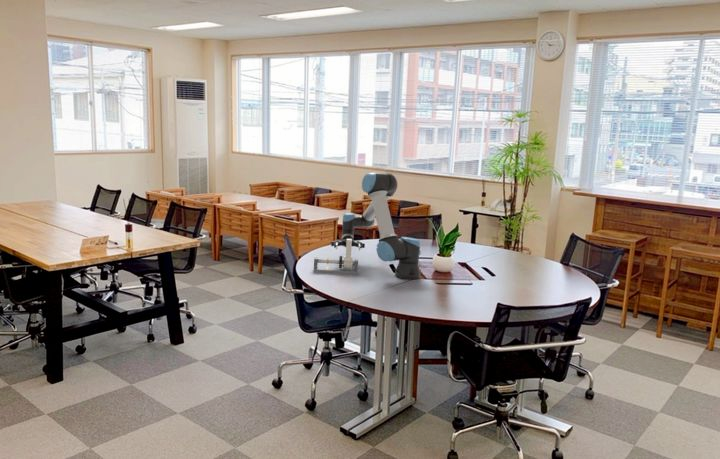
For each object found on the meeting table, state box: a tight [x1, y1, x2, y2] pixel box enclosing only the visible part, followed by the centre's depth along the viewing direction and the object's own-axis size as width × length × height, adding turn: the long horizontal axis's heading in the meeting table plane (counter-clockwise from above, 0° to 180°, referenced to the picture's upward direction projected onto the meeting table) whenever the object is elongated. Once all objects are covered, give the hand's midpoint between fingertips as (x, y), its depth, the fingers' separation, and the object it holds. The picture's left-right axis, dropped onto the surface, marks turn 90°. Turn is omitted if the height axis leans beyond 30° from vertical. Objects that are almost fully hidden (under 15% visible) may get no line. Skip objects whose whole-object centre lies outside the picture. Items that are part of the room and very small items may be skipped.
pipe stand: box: [312, 257, 359, 276], centre depth 348 cm, size 26×10×8 cm, turn 92°
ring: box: [338, 255, 343, 268], centre depth 348 cm, size 2×7×7 cm, turn 2°
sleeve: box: [342, 239, 353, 269], centre depth 347 cm, size 5×7×18 cm
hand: (348, 247), depth 347 cm, fingers open, 13 cm apart
